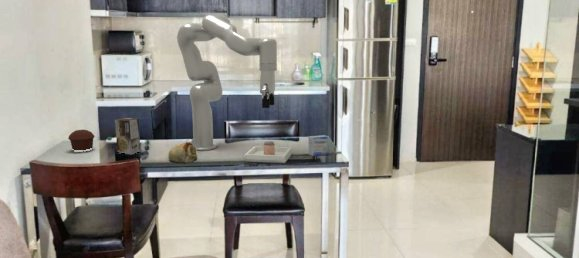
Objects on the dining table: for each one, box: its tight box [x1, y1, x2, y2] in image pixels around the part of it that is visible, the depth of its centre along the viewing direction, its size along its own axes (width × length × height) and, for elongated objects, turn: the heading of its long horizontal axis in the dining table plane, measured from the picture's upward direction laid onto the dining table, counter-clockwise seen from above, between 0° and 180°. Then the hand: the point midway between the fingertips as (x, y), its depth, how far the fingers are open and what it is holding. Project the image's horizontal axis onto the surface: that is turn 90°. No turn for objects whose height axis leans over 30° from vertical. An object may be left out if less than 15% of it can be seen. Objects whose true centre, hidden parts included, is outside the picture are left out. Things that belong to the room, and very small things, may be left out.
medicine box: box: [308, 134, 329, 157], centre depth 233 cm, size 8×4×9 cm, turn 117°
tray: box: [243, 145, 293, 164], centre depth 227 cm, size 18×18×3 cm
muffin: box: [67, 129, 96, 150], centre depth 241 cm, size 12×11×10 cm
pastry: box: [168, 142, 198, 164], centre depth 223 cm, size 14×12×8 cm
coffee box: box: [114, 117, 141, 155], centre depth 236 cm, size 9×6×16 cm
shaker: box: [263, 140, 276, 155], centre depth 227 cm, size 5×5×6 cm
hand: (268, 106), depth 224 cm, fingers open, 9 cm apart
